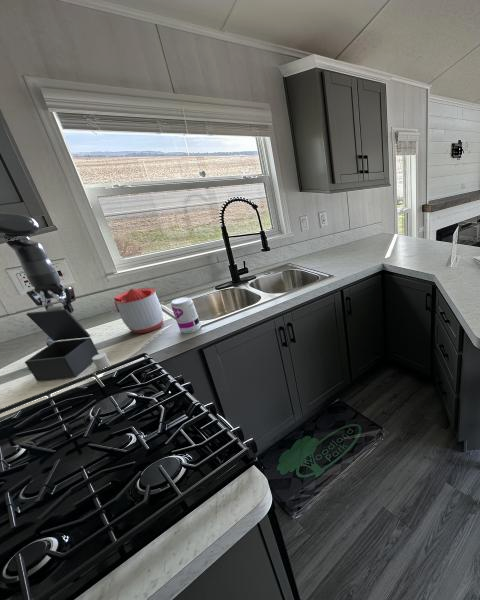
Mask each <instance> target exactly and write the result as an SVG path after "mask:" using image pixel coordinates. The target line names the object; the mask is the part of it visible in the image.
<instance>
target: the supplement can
mask: <svg viewBox="0 0 480 600" xmlns="http://www.w3.org/2000/svg"><path fill="white" fill-rule="evenodd" d="M170 307H171V310H172V313H173V315H174V318H175V320H176V324H177V326H178V329H179V331H180V333H181V334H192V333H195V332H197V331H199V330H200V328H201V327H202V325H201V322H200V318H199V315H198V313H197V310H196V307H195V304H194V301H193V300H192V298H190V296H180V297H177V298H175V299H173V300H172V301H171V305H170ZM196 330H197V331H196ZM194 331H195V332H194ZM190 332H191V333H190Z"/></svg>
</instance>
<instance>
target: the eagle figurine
mask: <svg viewBox="0 0 480 600" xmlns="http://www.w3.org/2000/svg"><path fill="white" fill-rule="evenodd" d="M53 342H54V341H53V340H52V339H51V338H50V337H49V336H48V337H46V345H47V346H49V345H50V344H52V343H53ZM47 346H46V347H47Z"/></svg>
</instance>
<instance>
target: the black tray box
mask: <svg viewBox="0 0 480 600" xmlns="http://www.w3.org/2000/svg"><path fill="white" fill-rule="evenodd" d="M98 354H100V353H99V352H98V349H97V347H96V345H95V343H94V341H93V340H92V338H91V337H88V338H78V339H69V340H59V341H53V343H52V344H50V345H49V346H45V348H43V349H41V350H40V351H39V352H37V353H36V354H34V355H32V356H31V357H30V358H28V359H26V360H25V361H24V364H25V365H26V366H27V368H28V370H29V371H30V373H31V374H32V376H33V378H34V379H35V380H36V382H46V381H56V380H65V379H72V378H77V377H78V376H79V375H81V374H82V373H83V372H84V371H85V370H86V369H87V368H88V367H89V366H91V365H92V364H93V363H94V362H93V360H92V358H93V357H94V356H96V355H98Z"/></svg>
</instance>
